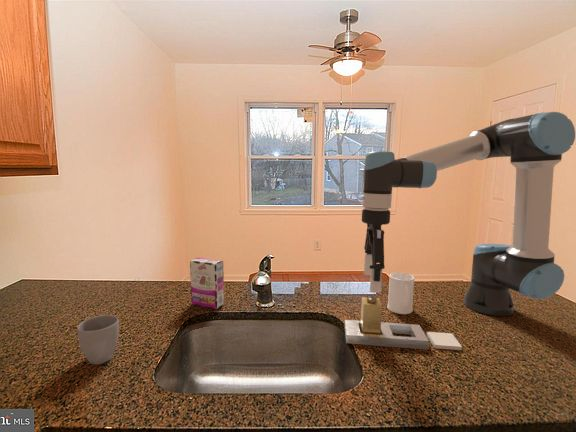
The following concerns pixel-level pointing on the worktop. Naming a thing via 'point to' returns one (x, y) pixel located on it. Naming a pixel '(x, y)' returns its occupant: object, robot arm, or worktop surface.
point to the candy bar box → (207, 283)
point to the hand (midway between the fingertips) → (371, 283)
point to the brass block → (371, 316)
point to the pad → (444, 341)
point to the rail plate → (387, 335)
